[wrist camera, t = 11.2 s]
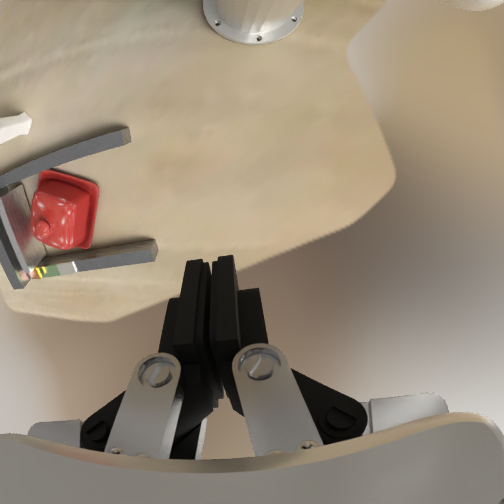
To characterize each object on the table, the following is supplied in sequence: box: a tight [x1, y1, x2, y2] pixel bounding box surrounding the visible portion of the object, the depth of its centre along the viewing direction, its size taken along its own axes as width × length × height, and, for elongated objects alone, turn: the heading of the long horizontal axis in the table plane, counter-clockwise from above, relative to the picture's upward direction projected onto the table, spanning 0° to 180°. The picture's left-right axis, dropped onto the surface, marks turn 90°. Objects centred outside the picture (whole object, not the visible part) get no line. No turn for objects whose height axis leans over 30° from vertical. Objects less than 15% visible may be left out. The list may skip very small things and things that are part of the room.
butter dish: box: [30, 169, 99, 250], centre depth 33 cm, size 12×12×8 cm
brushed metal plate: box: [0, 185, 47, 279], centre depth 35 cm, size 16×2×6 cm, turn 6°
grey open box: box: [0, 128, 158, 289], centre depth 34 cm, size 19×28×6 cm, turn 96°
